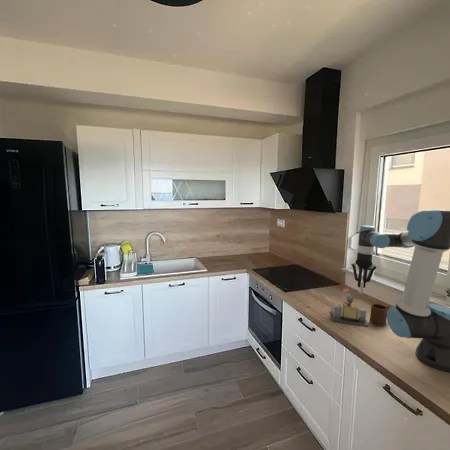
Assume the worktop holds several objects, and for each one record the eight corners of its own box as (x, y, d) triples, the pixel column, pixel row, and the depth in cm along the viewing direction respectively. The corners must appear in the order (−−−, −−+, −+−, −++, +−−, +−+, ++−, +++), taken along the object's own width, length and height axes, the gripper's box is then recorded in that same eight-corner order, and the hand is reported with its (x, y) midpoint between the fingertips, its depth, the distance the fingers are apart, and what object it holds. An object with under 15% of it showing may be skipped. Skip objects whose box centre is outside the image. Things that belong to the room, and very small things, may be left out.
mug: (381, 317, 147) (383, 301, 146) (394, 323, 140) (396, 307, 139) (366, 320, 142) (368, 304, 141) (379, 327, 135) (381, 310, 134)
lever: (354, 302, 140) (354, 299, 140) (347, 301, 141) (347, 298, 141) (348, 291, 155) (349, 289, 155) (342, 291, 156) (342, 288, 156)
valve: (367, 326, 136) (369, 307, 134) (333, 321, 140) (335, 303, 139) (362, 316, 147) (364, 299, 146) (330, 311, 152) (332, 295, 150)
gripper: (375, 252, 147) (371, 291, 150) (351, 250, 150) (347, 288, 153) (379, 255, 140) (375, 296, 143) (353, 253, 143) (349, 293, 146)
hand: (360, 292), depth 148 cm, fingers closed
